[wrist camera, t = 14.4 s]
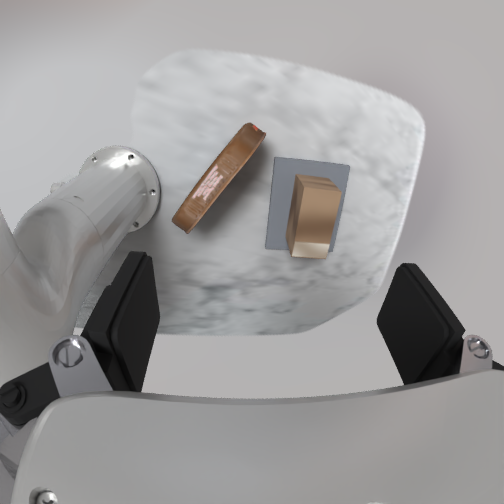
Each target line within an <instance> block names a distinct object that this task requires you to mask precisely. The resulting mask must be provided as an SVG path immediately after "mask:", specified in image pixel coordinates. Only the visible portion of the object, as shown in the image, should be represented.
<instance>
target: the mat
mask: <svg viewBox="0 0 504 504" xmlns="http://www.w3.org/2000/svg"><path fill="white" fill-rule="evenodd" d="M349 170H350V166H349V165H343V164H336V163H328V162H320V161H311V160H302V159H292V158H281V157H275V159H274V168H273V178H272V188H271V198H270V207H269V217H268V226H267V235H266V244H265V248H266V249H285V250H289V247H288V243H287V240H286V237H285V235H286V230H287V224H288V218H289V212H290V206H291V200H292V194H293V188H294V181H295V175H296V174H301V175H309V176H316V177H323V178H329V179H330V180H331V181H332V182H333V183H334V184H335V185H336V186H337V187H338V188H339V189H340V191H341V192H342V194H341V198H340V203H339V207H338V212H337V216H336V220H335V224H334V228H333V232H332V237H331V241H330V245H329V249H328V252H333V248H334V243H335V239H336V235H337V230H338V225H339V221H340V216H341V211H342V206H343V201H344V196H345V191H346V186H347V181H348V175H349Z"/></svg>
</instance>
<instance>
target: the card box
mask: <svg viewBox="0 0 504 504" xmlns="http://www.w3.org/2000/svg"><path fill="white" fill-rule="evenodd" d="M341 194H342V192H341V191H340V189H339V188H338V187H337V186H336V185H335V184H334V183H333V182H332V181H331V180H330V179H329V178H323V177H316V176H309V175H301V174H296V175H295V181H294V188H293V194H292V200H291V206H290V212H289V218H288V224H287V230H286V235H285V237H286V240H287V243H288V247H289V250H290V254H291V257H302V258H316V259H326V257H327V253H328V249H329V245H330V241H331V237H332V232H333V228H334V224H335V220H336V216H337V212H338V207H339V203H340V198H341Z"/></svg>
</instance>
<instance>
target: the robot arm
mask: <svg viewBox="0 0 504 504" xmlns="http://www.w3.org/2000/svg"><path fill="white" fill-rule="evenodd" d="M132 155H134V158H133V157H132ZM96 157H97V159H96ZM153 189H154V190H155V192H154V191H153ZM159 198H160V186H159V181H158V178H157V175H156V172H155V170H154V169H153V167H152V165H151V164H150V163H149V161H148V160H147V159H146V158H145V157H144V156H143V155H141V154H140V153H139V152H137V151H135V150H133V149H131V148H128V147H124V146H110V147H105V148H103V149H100V150H98V151H96V152H95V153H93V154H92V155H91V156H90V157H88V158H87V160H86V161H85V162H84V164H83V165H82V167H81V169H80V172H79V175H78V176H76V177H75V178H73V179H72V180H70V181H69V182H67V183H54V184H52V186H51V194H50V195H48V196H47V197H45V198H44V199H43V200H41V201H40V202H39V203H37V204H36V205H34V206H33V207H32V208H31V209H29V210H28V211H27V213H25V214H24V216H23V217H22V218H21V220H20V221H19V223H18V224H17V226H16V228H15V230H14V232H13V234H12V233H11V231H10V229H9V227H8V225H7V223H6V221H5V218H4V216H3V214H2V212H1V209H0V504H504V366H502V365H500V364H499V363H497V362H495V361H493V360H492V350H491V348H490V346H489V345H488V343H487V342H486V341H485V340H484V339H482V338H481V337H479V336H476V335H468V336H467V337H465V339H464V340H463V338H462V335H463V334H464V332H465V329H464V327H463V326H462V324H461V323H460V321H459V320H458V319H457V317H456V316H455V314H454V313H453V311H452V310H451V309H450V307H449V306H448V304H447V303H446V302H445V300H444V299H443V298H442V296H441V295H440V294H439V293H438V291H437V290H436V289H435V288H434V286H433V285H432V283H431V282H430V281H429V280H428V278H427V277H426V276H425V274H424V273H423V272H422V271H421V270H420V269H419V267H418V266H417V265H416V264H414V263H413V264H412V263H403V264H401V265H400V267H398V268H397V269H396V272H395V275H394V277H393V280H392V283H391V285H390V288H389V290H388V293H387V295H386V298H385V300H384V302H383V305H382V307H381V310H380V312H379V314H378V317H377V325H378V327H379V330H380V332H381V334H382V336H383V338H384V340H385V343H386V345H387V347H388V349H389V351H390V353H391V356H392V358H393V360H394V362H395V365H396V367H397V369H398V371H399V374H400V376H401V378H402V381H403V383H404V385H403V386H398V387H392V388H386V389H379V390H372V391H365V392H357V393H349V394H339V395H329V396H317V397H300V398H276V399H231V398H206V397H189V396H175V395H164V394H154V393H142V392H141V391H142V386H143V382H144V378H145V374H146V370H147V366H148V362H149V358H150V354H151V350H152V347H153V343H154V339H155V336H156V332H157V328H158V325H159V321H160V312H159V305H158V299H157V292H156V286H155V279H154V271H153V263H152V258H151V256H147V254H146V252H134V251H131V252H130V253H129V254H128V256H127V258H126V259H125V261H124V263H123V264H122V266H121V268H120V270H119V271H118V273H117V275H116V277H115V279H114V280H113V282H112V284H111V286H110V285H109V286H107V287H106V288H105V289H104V291H103V293H102V295H101V297H100V299H99V300H98V302H97V304H96V306H95V308H94V310H93V312H92V314H91V316H90V317H89V319H88V321H87V323H86V325H85V327H84V329H83V332H82V333H81V335H80V336H78V335H73V331H74V327H75V323H76V320H77V317H78V314H79V311H80V309H81V306H82V304H83V302H84V300H85V298H86V296H87V294H88V292H89V291H90V289H91V287H92V285H93V284H94V282H95V280H96V279H97V277H98V276H99V274H100V273H101V271H102V270H103V268H104V267H105V265H106V263H107V262H108V260H109V259H110V257H111V256H112V254H113V253H114V251H115V250H116V248H117V247H118V245H119V244H120V242H121V241H122V239H123V238H124V237H125V235H126V234H127V233H130V232H134V231H136V230H138V229H140V228H142V227H143V226H144V225H145V224H147V223H148V221H149V220H150V219H151V218H152V216H153V215H154V213H155V211H156V209H157V206H158V203H159ZM137 222H138V223H137Z"/></svg>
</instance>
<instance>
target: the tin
mask: <svg viewBox="0 0 504 504" xmlns="http://www.w3.org/2000/svg"><path fill="white" fill-rule="evenodd" d="M265 136H266V133H265V132H262V131H261V130H260V129H258V128H257V127H256V126H255V125H253V124H252V123H247V124H245V125H243V127H242V128H241V129H240V130H239V131H238V133H237V134H236V135H235V136H234V137H233V139H232V140H231V141H230V142H229V143H228V145H227V146H226V147H225V148H224V150H223V151H222V152H221V153H220V154H219V156H218V157H217V158H216V159H215V161H214V162H213V163H212V164H211V166H210V167H209V168H208V170H207V171H206V172H205V173H204V175H203V176H202V177H201V179H200V180H199V181H198V183H197V184H196V185H195V187H194V188H193V190H192V191H191V192H190V194H189V195H188V197H187V198H186V199H185V201H184V202H183V204H182V205H181V207H180V208H179V209H178V211H177V212H176V214H175V215H174V217H173V218H172V222H173V223H174V224H175V225H177V226H178V227H180V228H181V229H182V230H184V231H185V232H186V234H188V233H189V232H190V231H191V230H192V229H193V228H194V227H195V225H196V224H197V223H198V222H199V221H200V219H201V218H202V217H203V215H204V214H205V213H206V212H207V210H208V209H209V208H210V207H211V205H212V204H213V203H214V201H215V200H216V199H217V198H218V196H219V195H220V194H221V193H222V191H223V190H224V189H225V188H226V186H227V185H228V184H229V183H230V182H231V180H232V179H233V178H234V177H235V175H236V174H237V173H238V172H239V171H240V169H241V168H242V167H243V166H244V165H245V163H246V162H247V161H248V160H249V158H250V157H251V156H252V155H253V153H254V152H255V150H256V149H257V148H258V146H259V145H260V144H261V142H262V141H263V139H264V138H265Z"/></svg>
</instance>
